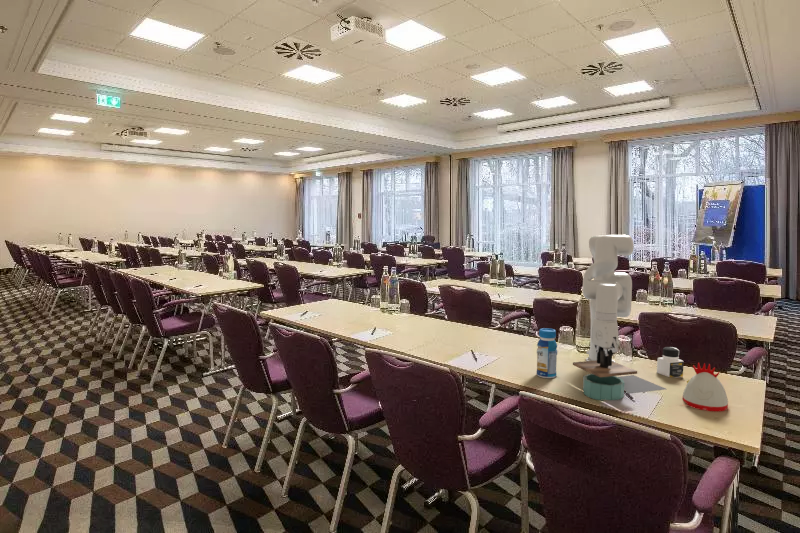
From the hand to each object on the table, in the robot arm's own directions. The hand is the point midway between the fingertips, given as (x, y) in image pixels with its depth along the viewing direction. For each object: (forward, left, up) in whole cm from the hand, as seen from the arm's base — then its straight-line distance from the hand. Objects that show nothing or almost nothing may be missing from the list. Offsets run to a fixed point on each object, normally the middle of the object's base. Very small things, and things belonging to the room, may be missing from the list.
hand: (604, 364), depth 184 cm
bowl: (0, 0, -12) cm, 12 cm away
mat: (-6, +18, -12) cm, 22 cm away
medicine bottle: (-12, +43, -12) cm, 46 cm away
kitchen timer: (+18, +29, -12) cm, 36 cm away
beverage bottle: (-26, -8, -12) cm, 30 cm away
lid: (0, 0, -2) cm, 2 cm away
